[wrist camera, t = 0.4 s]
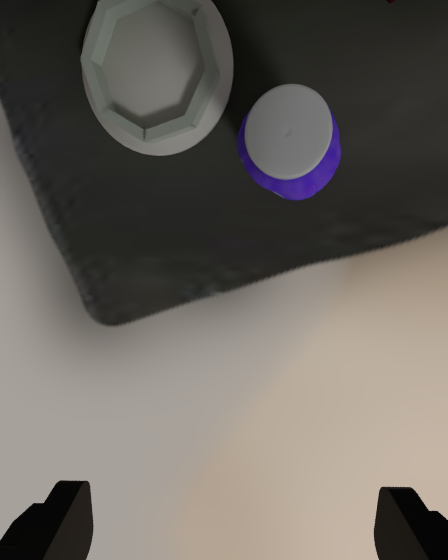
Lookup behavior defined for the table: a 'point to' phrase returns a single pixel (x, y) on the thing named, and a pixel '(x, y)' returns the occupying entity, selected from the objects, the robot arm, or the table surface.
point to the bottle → (290, 142)
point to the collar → (157, 72)
